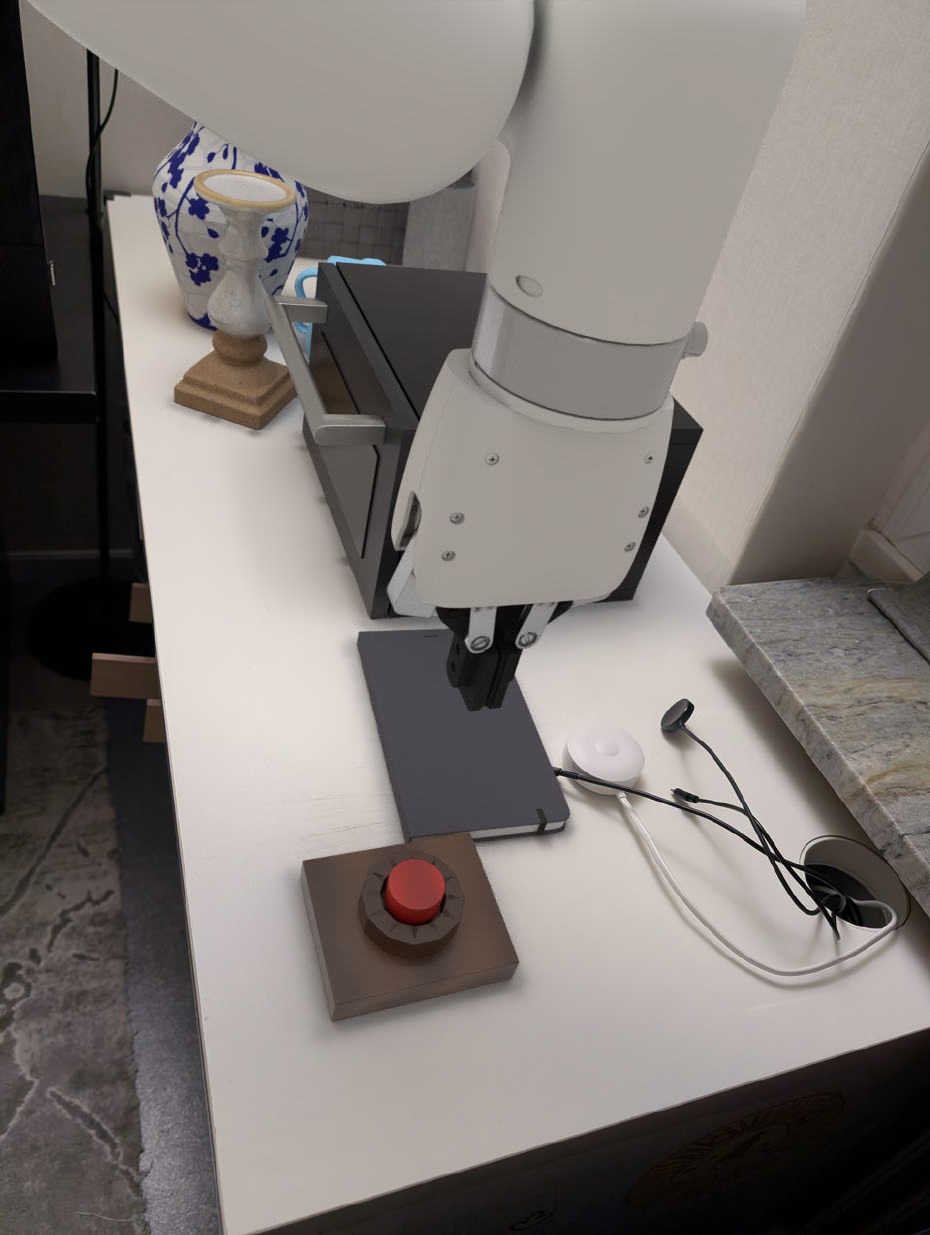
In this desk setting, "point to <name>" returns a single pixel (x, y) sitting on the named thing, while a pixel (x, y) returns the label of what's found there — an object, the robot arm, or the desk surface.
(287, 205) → the candle holder
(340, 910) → the control block
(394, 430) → the oven door
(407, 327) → the oven
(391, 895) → the button
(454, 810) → the notebook
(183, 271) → the vase
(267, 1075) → the desk surface
